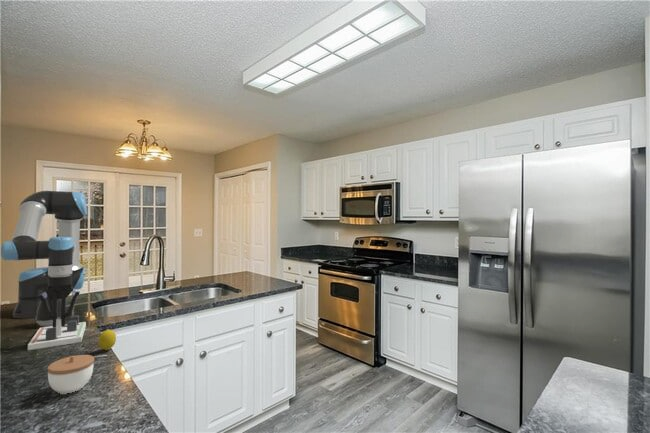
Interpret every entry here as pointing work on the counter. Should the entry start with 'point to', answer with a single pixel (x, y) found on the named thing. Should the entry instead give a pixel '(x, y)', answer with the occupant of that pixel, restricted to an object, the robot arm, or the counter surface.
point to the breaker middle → (72, 325)
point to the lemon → (107, 339)
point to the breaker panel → (63, 339)
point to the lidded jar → (70, 373)
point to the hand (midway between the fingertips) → (58, 334)
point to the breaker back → (75, 318)
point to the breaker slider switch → (51, 333)
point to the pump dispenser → (41, 314)
